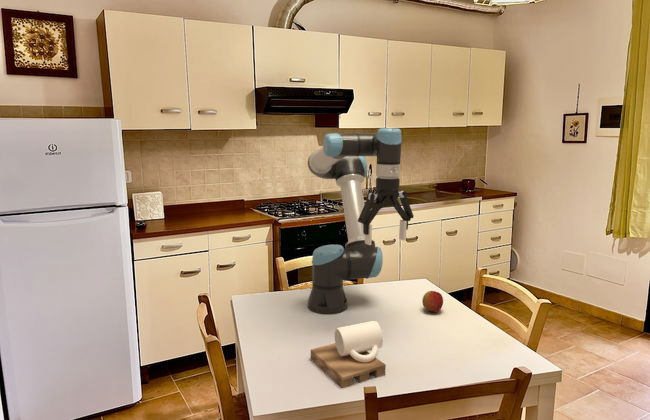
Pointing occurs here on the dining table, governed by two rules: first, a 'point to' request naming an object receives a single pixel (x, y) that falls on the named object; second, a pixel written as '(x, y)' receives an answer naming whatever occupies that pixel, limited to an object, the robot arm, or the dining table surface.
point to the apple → (432, 301)
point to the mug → (359, 340)
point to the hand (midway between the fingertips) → (385, 241)
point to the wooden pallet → (345, 365)
